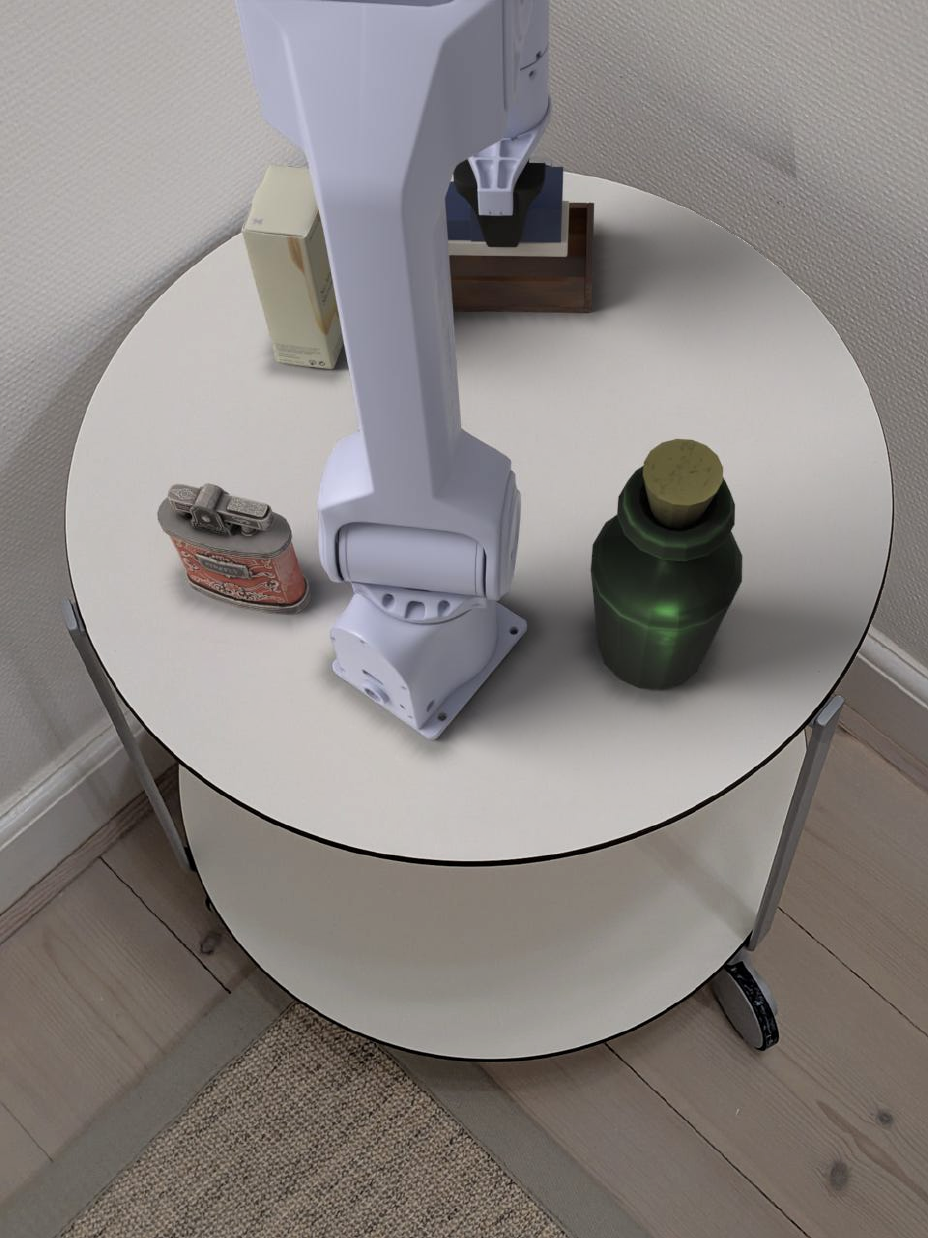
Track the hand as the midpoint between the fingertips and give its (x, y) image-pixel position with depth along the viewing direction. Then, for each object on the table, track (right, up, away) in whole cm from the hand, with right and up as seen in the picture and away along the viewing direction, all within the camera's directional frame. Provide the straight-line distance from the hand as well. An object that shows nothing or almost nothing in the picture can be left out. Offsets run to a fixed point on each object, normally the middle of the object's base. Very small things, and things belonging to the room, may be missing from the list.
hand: (504, 218), depth 83 cm
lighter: (-16, -25, -5) cm, 30 cm away
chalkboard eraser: (0, -1, +1) cm, 1 cm away
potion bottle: (+9, -28, -8) cm, 31 cm away
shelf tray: (0, -2, +6) cm, 6 cm away
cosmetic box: (-13, -7, +4) cm, 15 cm away
